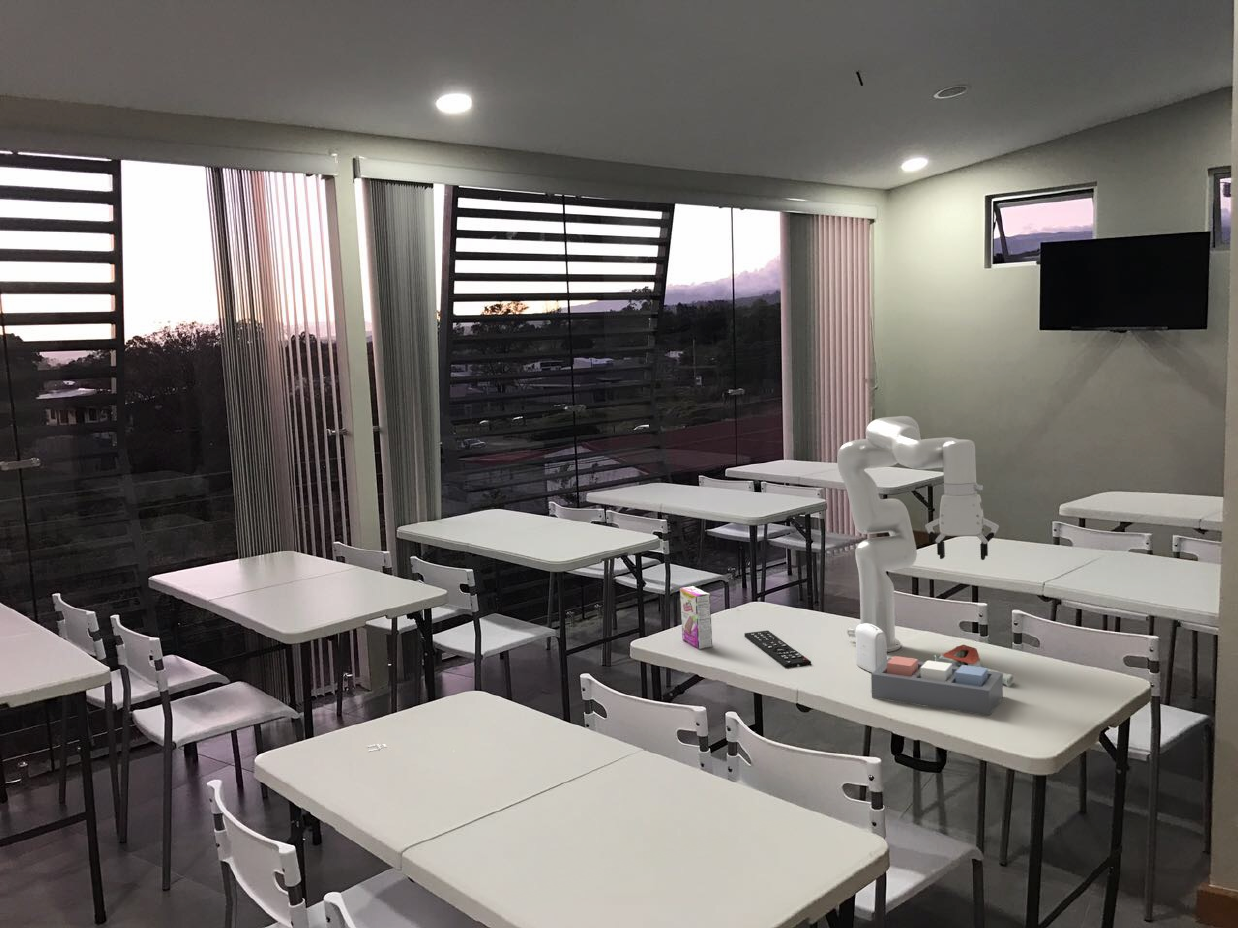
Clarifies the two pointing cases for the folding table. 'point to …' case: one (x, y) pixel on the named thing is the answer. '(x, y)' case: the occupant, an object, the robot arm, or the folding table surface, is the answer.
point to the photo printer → (870, 647)
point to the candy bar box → (696, 617)
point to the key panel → (938, 691)
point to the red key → (902, 666)
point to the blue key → (972, 675)
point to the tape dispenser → (967, 660)
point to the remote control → (777, 649)
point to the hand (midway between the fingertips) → (962, 558)
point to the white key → (936, 671)
